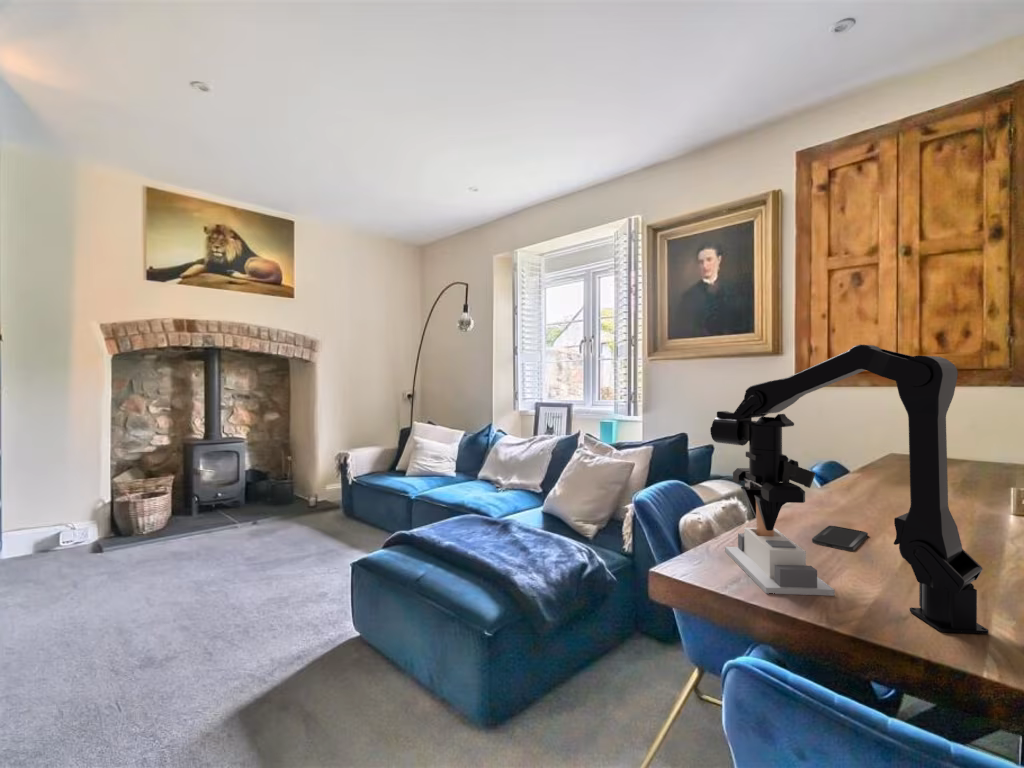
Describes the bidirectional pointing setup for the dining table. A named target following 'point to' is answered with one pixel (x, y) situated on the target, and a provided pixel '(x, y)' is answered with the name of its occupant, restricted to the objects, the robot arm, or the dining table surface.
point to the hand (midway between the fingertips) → (765, 527)
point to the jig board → (770, 581)
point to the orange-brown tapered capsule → (761, 525)
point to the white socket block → (772, 551)
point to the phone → (840, 538)
